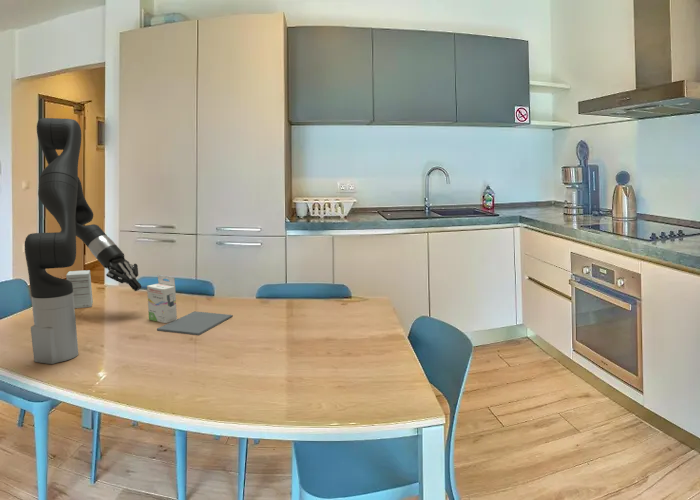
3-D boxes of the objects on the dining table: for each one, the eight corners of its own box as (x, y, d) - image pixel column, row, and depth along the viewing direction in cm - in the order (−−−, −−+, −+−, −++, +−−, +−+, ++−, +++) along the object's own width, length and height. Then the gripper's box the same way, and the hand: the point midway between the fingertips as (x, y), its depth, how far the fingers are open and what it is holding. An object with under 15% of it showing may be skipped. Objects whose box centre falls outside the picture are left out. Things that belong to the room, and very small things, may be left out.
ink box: (147, 319, 157) (145, 276, 154) (160, 316, 161) (157, 274, 159) (165, 323, 153) (163, 279, 150) (177, 319, 157) (175, 276, 155)
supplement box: (70, 304, 175) (68, 271, 173) (93, 302, 178) (90, 269, 176) (68, 309, 168) (65, 275, 166) (91, 307, 171) (89, 273, 169)
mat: (199, 335, 142) (199, 333, 142) (157, 330, 146) (156, 328, 146) (232, 316, 161) (232, 314, 161) (194, 312, 165) (194, 311, 165)
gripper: (96, 247, 152) (130, 286, 150) (126, 241, 164) (158, 278, 163) (84, 262, 154) (118, 301, 153) (114, 255, 166) (146, 291, 165)
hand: (138, 289), depth 158 cm, fingers closed
